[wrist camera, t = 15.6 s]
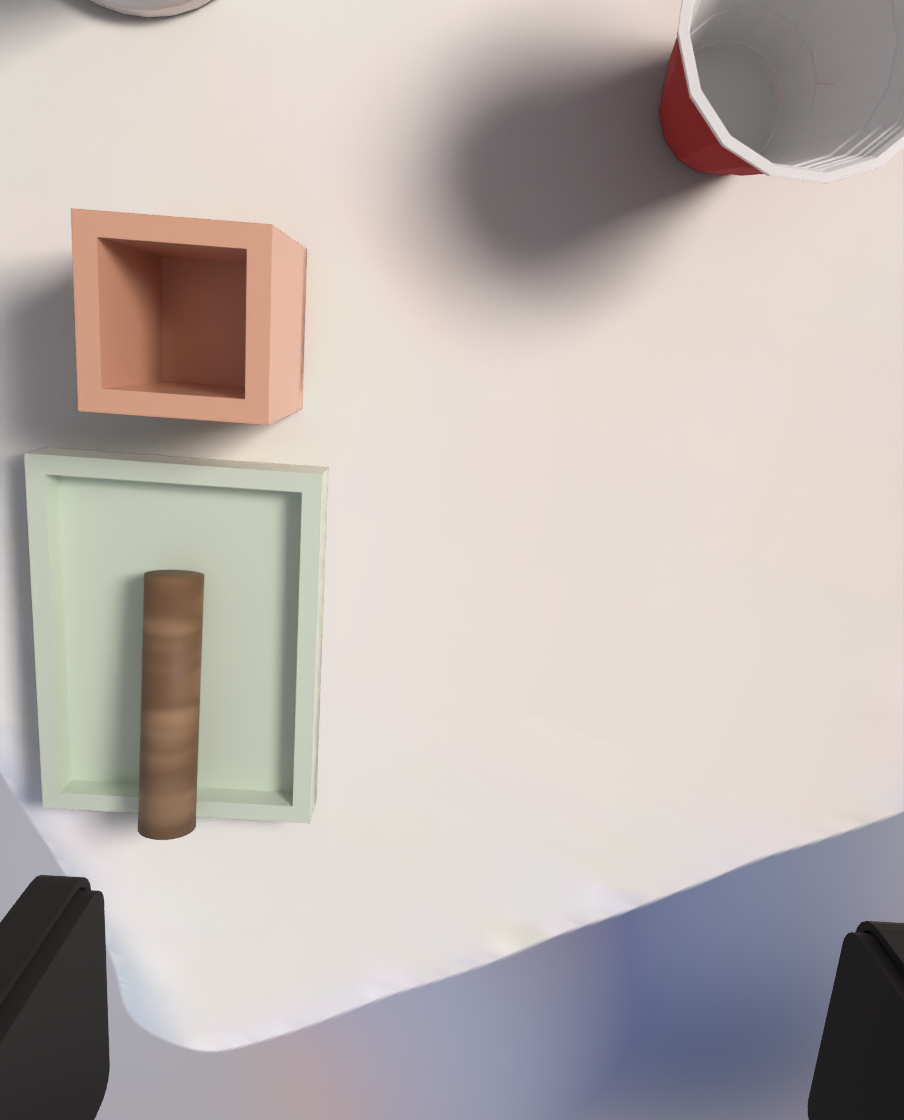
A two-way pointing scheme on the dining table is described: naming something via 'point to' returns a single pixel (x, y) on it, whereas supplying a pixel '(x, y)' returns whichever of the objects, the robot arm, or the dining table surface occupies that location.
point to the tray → (228, 623)
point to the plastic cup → (786, 87)
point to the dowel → (170, 702)
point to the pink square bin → (187, 317)
